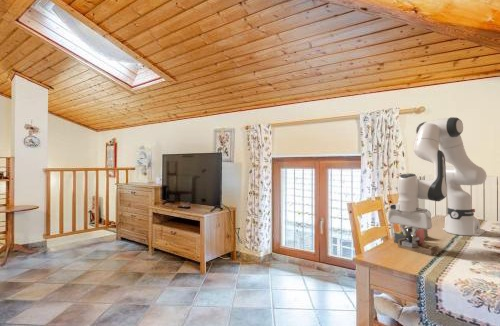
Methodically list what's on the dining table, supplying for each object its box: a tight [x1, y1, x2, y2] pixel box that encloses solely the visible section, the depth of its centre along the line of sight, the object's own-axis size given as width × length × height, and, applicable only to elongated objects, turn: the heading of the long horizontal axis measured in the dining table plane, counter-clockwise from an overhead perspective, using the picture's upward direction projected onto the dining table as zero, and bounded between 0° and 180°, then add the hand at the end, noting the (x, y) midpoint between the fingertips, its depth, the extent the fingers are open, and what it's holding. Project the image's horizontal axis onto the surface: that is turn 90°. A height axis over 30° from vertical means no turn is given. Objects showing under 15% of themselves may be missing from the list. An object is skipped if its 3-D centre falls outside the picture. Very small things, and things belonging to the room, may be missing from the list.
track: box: [397, 238, 438, 257], centre depth 133 cm, size 5×16×4 cm, turn 29°
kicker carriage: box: [402, 227, 425, 248], centre depth 139 cm, size 13×5×9 cm, turn 119°
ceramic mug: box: [406, 226, 429, 239], centre depth 156 cm, size 11×8×8 cm
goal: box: [393, 226, 420, 244], centre depth 147 cm, size 12×7×9 cm, turn 119°
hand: (409, 234), depth 137 cm, fingers open, 3 cm apart
